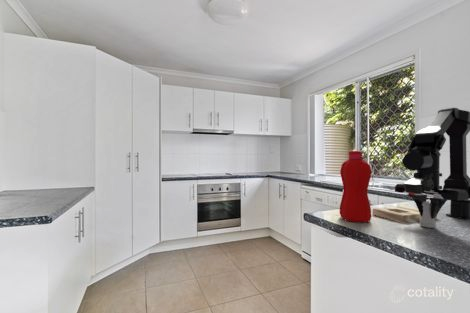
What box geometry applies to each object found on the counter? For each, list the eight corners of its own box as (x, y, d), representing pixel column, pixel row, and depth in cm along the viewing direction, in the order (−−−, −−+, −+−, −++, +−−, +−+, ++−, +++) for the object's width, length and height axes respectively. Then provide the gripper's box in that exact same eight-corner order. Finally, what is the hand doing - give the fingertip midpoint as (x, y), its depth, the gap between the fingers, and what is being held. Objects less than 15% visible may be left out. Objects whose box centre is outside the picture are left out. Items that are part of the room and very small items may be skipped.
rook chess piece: (439, 228, 75) (440, 203, 75) (423, 227, 76) (423, 202, 76) (431, 224, 79) (431, 200, 79) (416, 223, 80) (416, 200, 80)
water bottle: (379, 223, 81) (380, 150, 81) (347, 223, 82) (347, 150, 82) (366, 217, 90) (367, 151, 90) (337, 216, 91) (337, 151, 91)
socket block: (404, 211, 100) (404, 205, 100) (437, 218, 88) (437, 212, 88) (372, 214, 94) (372, 208, 94) (402, 222, 82) (402, 215, 82)
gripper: (383, 168, 84) (383, 212, 84) (445, 172, 66) (445, 227, 66) (405, 168, 87) (405, 210, 88) (469, 171, 70) (469, 224, 70)
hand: (427, 217), depth 78 cm, fingers closed on rook chess piece, 3 cm apart
